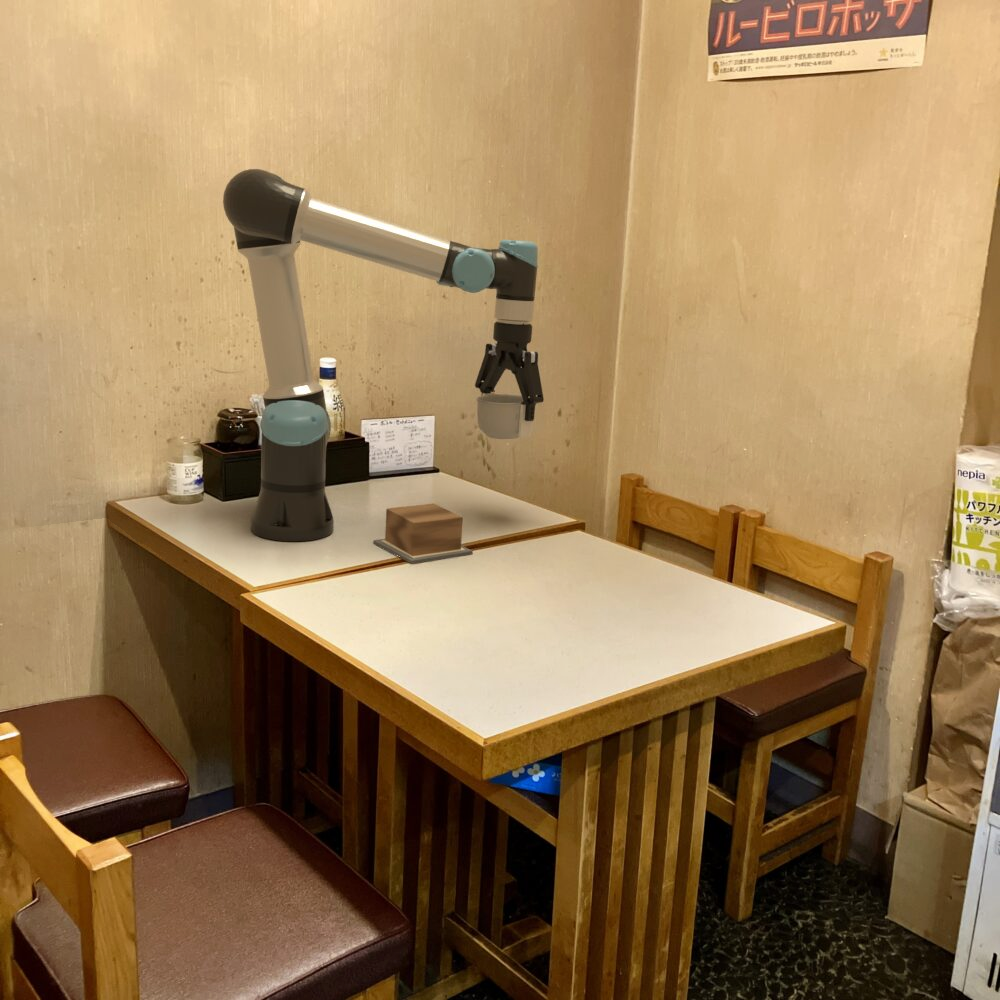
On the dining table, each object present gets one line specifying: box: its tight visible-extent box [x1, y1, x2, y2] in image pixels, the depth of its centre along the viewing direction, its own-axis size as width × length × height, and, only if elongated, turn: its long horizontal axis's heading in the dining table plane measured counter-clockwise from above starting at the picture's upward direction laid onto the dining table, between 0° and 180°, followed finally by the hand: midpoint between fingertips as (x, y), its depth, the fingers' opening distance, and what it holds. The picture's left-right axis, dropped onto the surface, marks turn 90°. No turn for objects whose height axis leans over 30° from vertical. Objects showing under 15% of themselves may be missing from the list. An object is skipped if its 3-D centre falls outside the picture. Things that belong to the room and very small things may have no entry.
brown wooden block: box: [384, 503, 464, 556], centre depth 180 cm, size 10×10×6 cm
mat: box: [372, 538, 474, 565], centre depth 181 cm, size 13×13×1 cm
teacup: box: [476, 393, 523, 440], centre depth 200 cm, size 14×11×8 cm
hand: (505, 430), depth 200 cm, fingers closed on teacup, 12 cm apart
